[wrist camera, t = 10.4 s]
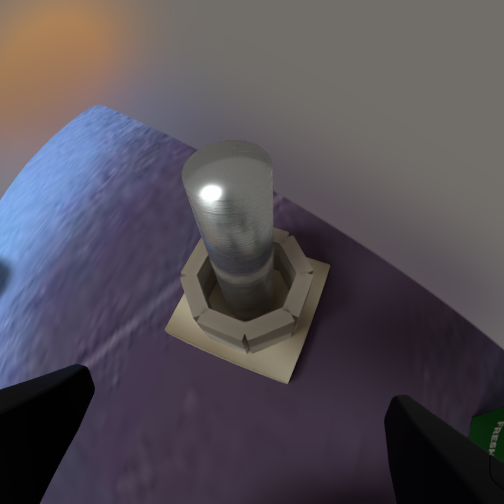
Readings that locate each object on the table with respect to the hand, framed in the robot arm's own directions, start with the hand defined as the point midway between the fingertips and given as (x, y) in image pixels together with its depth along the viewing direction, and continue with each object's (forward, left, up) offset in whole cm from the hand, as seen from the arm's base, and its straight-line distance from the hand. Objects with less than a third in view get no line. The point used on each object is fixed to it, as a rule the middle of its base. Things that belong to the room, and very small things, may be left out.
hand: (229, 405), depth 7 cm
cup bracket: (+8, +4, -14) cm, 16 cm away
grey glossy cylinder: (+8, +4, -13) cm, 15 cm away
